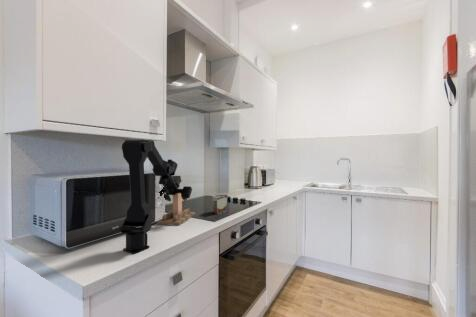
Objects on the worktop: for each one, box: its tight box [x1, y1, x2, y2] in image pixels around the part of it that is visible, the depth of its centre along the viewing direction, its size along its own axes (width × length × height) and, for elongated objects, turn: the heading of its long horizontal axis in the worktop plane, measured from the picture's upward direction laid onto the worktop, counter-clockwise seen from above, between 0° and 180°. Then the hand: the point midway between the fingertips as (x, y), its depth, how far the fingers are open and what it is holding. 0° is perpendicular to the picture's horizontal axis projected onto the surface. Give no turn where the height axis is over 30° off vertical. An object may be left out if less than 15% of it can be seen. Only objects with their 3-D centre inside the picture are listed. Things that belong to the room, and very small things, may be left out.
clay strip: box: [172, 193, 183, 218], centre depth 119 cm, size 5×3×13 cm, turn 171°
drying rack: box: [156, 207, 196, 226], centre depth 119 cm, size 20×12×4 cm, turn 170°
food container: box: [211, 194, 229, 215], centre depth 135 cm, size 12×6×10 cm, turn 149°
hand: (178, 201), depth 121 cm, fingers open, 9 cm apart
